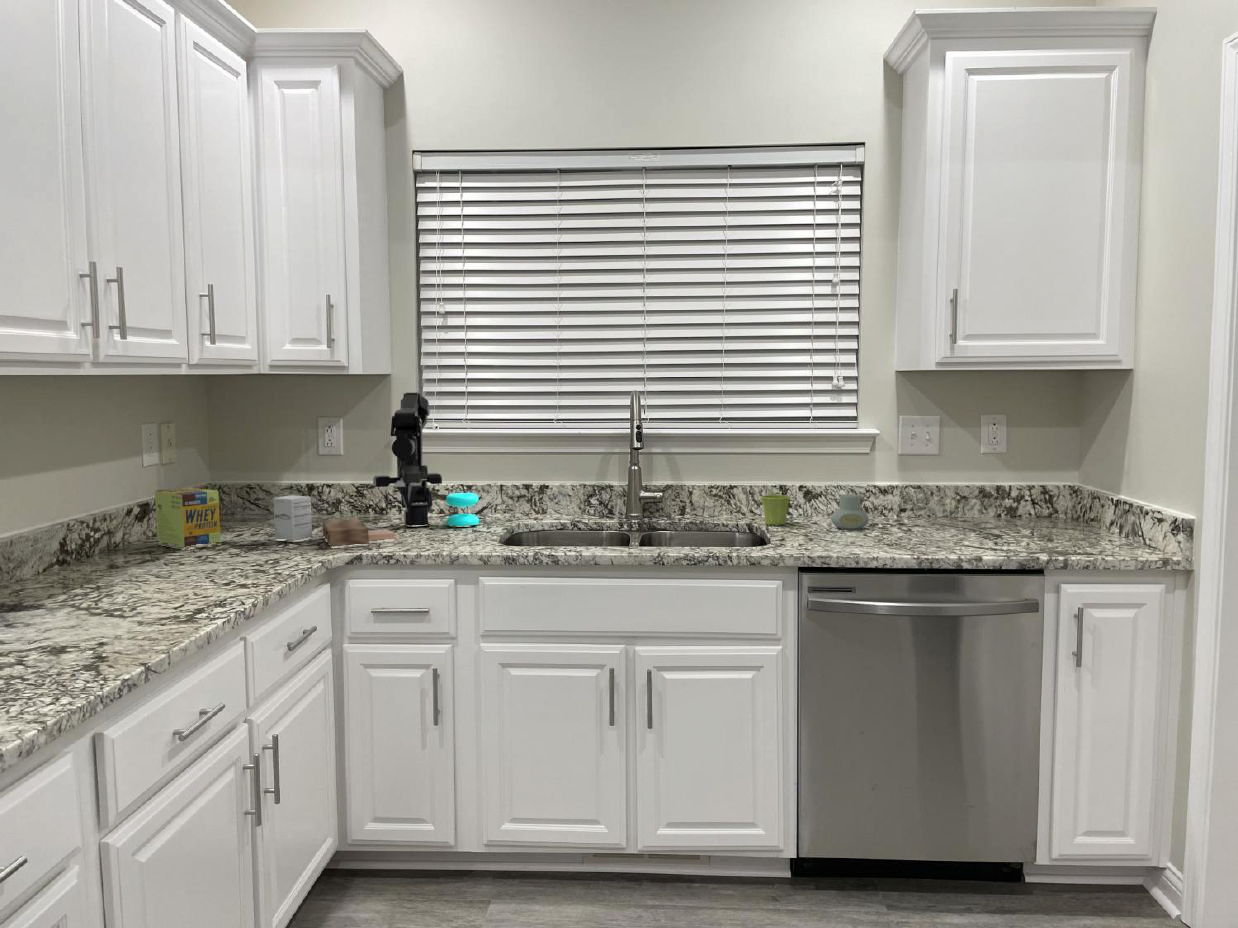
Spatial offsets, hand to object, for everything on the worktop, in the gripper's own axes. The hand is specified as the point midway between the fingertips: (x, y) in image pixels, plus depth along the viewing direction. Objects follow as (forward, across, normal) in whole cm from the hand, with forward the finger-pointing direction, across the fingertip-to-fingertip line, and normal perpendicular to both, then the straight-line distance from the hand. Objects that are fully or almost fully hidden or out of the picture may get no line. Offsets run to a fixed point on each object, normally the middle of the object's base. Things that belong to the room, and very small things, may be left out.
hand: (408, 509), depth 258 cm
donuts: (+8, +19, +13) cm, 25 cm away
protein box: (+8, -58, +14) cm, 60 cm away
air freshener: (+8, +122, -45) cm, 130 cm away
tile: (+9, -13, -3) cm, 16 cm away
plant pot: (+8, +107, -28) cm, 111 cm away
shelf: (+8, -18, 0) cm, 20 cm away
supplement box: (+8, -31, +9) cm, 33 cm away
